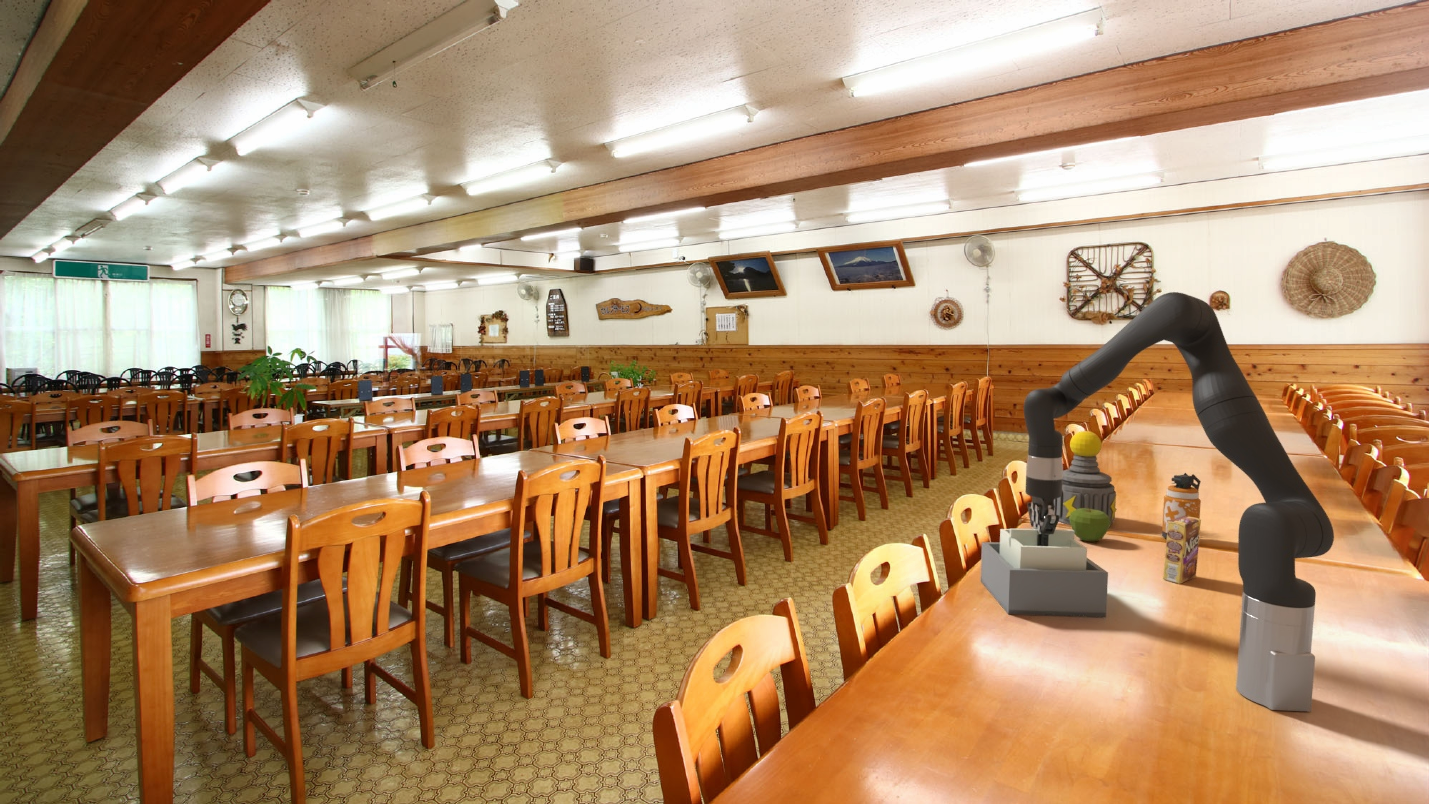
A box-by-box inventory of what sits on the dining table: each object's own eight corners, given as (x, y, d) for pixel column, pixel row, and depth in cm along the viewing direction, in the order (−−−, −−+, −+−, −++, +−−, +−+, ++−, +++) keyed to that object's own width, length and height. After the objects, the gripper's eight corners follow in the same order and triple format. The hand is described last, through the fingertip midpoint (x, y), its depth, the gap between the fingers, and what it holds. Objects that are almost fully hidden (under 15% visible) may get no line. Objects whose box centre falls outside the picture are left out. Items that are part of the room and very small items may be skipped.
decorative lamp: (1064, 510, 237) (1068, 425, 234) (1124, 521, 223) (1128, 431, 220) (1040, 519, 225) (1044, 430, 222) (1101, 532, 211) (1106, 436, 208)
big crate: (1105, 617, 146) (1108, 572, 145) (1008, 614, 148) (1009, 569, 147) (1065, 583, 166) (1067, 544, 166) (980, 581, 168) (981, 542, 167)
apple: (1072, 544, 198) (1073, 510, 198) (1064, 534, 209) (1066, 502, 208) (1113, 547, 195) (1115, 513, 194) (1104, 537, 205) (1105, 504, 204)
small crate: (1085, 579, 149) (1087, 539, 148) (1019, 577, 150) (1021, 537, 150) (1059, 558, 163) (1061, 522, 162) (999, 557, 164) (1000, 520, 163)
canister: (1155, 538, 204) (1158, 472, 202) (1177, 533, 209) (1181, 469, 207) (1186, 546, 196) (1190, 478, 194) (1209, 541, 201) (1213, 474, 199)
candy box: (1181, 585, 165) (1185, 524, 164) (1162, 580, 169) (1165, 520, 167) (1197, 578, 170) (1201, 518, 169) (1178, 573, 174) (1182, 514, 172)
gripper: (1074, 481, 148) (1070, 559, 149) (1049, 469, 161) (1046, 540, 163) (1038, 481, 148) (1035, 558, 150) (1016, 469, 162) (1014, 540, 163)
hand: (1041, 548), depth 156 cm, fingers closed on small crate, 1 cm apart
